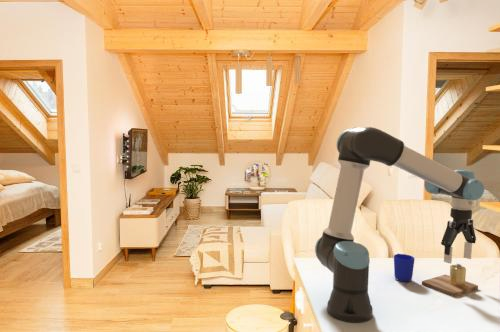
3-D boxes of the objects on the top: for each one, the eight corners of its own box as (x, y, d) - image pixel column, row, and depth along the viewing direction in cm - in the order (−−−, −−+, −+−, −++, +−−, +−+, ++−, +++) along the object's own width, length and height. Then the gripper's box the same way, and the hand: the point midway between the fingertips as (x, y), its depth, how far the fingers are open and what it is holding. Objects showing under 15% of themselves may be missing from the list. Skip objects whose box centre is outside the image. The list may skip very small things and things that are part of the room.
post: (458, 285, 153) (459, 266, 152) (452, 283, 155) (453, 264, 154) (462, 284, 154) (463, 265, 153) (456, 282, 156) (457, 263, 156)
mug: (407, 273, 170) (408, 251, 169) (416, 283, 158) (417, 260, 157) (388, 272, 171) (389, 251, 170) (395, 282, 159) (396, 259, 158)
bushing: (459, 287, 151) (460, 270, 151) (447, 282, 156) (448, 266, 155) (467, 284, 154) (468, 268, 153) (454, 280, 158) (455, 264, 158)
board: (454, 296, 145) (454, 293, 145) (421, 284, 157) (422, 281, 157) (477, 289, 153) (478, 285, 153) (445, 277, 165) (445, 274, 165)
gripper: (451, 212, 143) (448, 267, 144) (488, 208, 155) (484, 258, 157) (433, 208, 149) (430, 261, 151) (469, 205, 162) (466, 253, 163)
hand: (457, 260), depth 154 cm, fingers open, 13 cm apart
